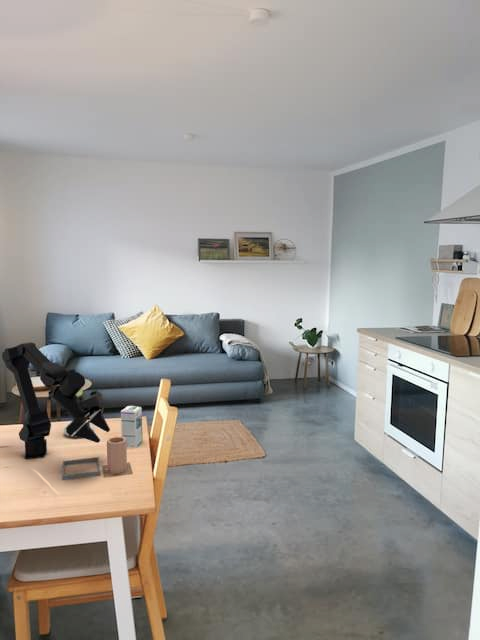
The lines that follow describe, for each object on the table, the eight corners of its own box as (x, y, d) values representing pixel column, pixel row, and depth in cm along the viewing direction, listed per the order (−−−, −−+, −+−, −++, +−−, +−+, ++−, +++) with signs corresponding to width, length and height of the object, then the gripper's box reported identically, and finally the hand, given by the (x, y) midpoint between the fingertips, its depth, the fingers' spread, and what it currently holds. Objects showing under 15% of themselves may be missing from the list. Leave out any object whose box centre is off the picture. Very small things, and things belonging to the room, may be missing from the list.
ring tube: (121, 464, 167) (120, 435, 166) (129, 470, 163) (128, 440, 161) (101, 470, 162) (100, 440, 161) (109, 476, 158) (108, 445, 157)
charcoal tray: (62, 483, 156) (62, 476, 155) (63, 467, 166) (62, 461, 166) (100, 478, 159) (100, 471, 159) (98, 463, 170) (98, 457, 169)
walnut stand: (103, 480, 158) (103, 465, 157) (102, 468, 166) (101, 454, 165) (133, 476, 160) (132, 461, 160) (130, 465, 169) (129, 450, 168)
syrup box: (136, 450, 181) (136, 411, 179) (121, 448, 182) (120, 410, 180) (142, 444, 187) (142, 406, 185) (127, 442, 188) (127, 405, 186)
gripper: (74, 393, 151) (111, 430, 151) (97, 377, 169) (130, 410, 170) (50, 417, 152) (86, 454, 153) (74, 399, 171) (107, 432, 171)
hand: (104, 436), depth 162 cm, fingers open, 9 cm apart
